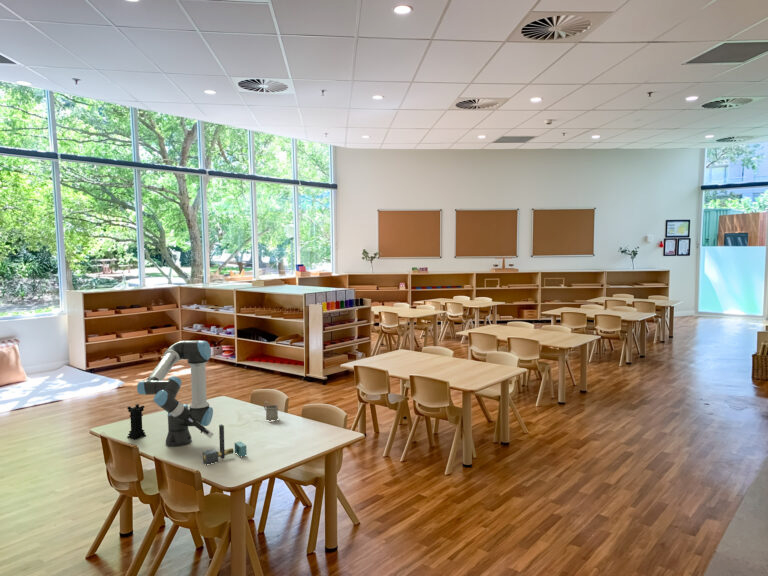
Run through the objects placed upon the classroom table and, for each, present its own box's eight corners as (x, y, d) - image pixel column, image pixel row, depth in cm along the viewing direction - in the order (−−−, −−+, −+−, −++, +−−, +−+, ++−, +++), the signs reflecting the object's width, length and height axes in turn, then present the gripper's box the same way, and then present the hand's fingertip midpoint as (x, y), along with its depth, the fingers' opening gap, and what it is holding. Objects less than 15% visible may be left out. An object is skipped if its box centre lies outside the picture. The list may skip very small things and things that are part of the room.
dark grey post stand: (203, 461, 286) (202, 428, 284) (231, 454, 296) (230, 422, 295) (205, 463, 283) (204, 429, 282) (233, 455, 294) (232, 423, 292)
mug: (281, 419, 361) (281, 403, 360) (270, 423, 354) (270, 406, 353) (269, 415, 371) (269, 399, 370) (258, 418, 363) (258, 402, 363)
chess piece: (138, 433, 334) (137, 404, 333) (146, 435, 330) (145, 405, 328) (127, 437, 327) (126, 407, 326) (134, 439, 323) (133, 409, 322)
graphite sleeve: (202, 462, 287) (202, 451, 286) (214, 459, 291) (214, 448, 291) (206, 465, 282) (205, 454, 282) (218, 462, 287) (218, 451, 286)
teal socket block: (234, 453, 300) (234, 442, 300) (240, 451, 302) (240, 441, 302) (240, 457, 293) (240, 447, 293) (246, 456, 296) (246, 445, 295)
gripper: (167, 411, 282) (195, 432, 292) (181, 423, 263) (210, 444, 273) (177, 400, 285) (204, 421, 295) (191, 411, 266) (220, 433, 276)
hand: (207, 432), depth 284 cm, fingers open, 13 cm apart
